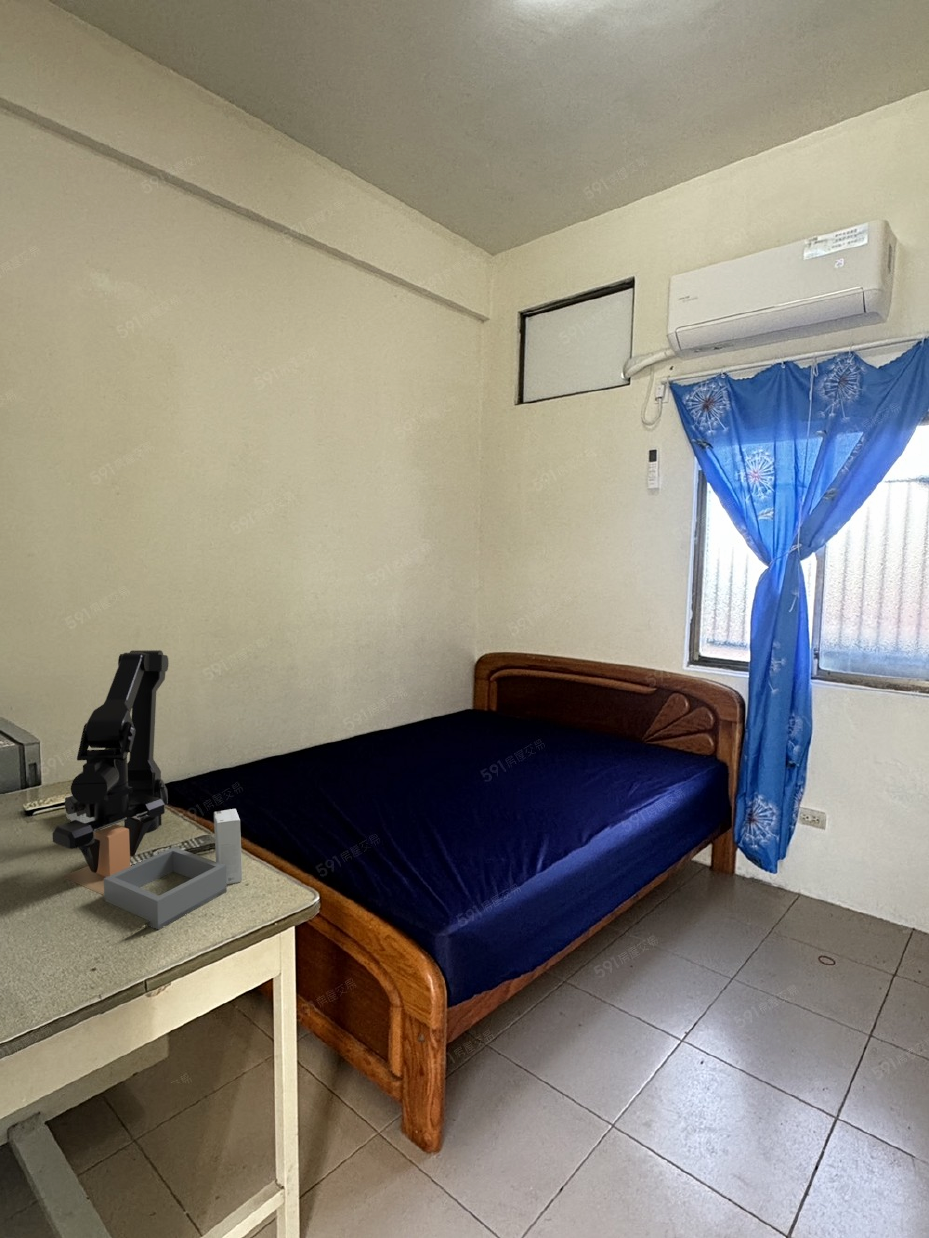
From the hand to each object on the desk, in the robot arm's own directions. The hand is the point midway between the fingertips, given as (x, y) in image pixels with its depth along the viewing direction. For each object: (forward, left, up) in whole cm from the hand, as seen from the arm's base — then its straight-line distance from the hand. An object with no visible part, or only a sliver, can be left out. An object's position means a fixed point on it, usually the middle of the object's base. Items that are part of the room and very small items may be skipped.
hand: (113, 863), depth 124 cm
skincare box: (-11, +18, -3) cm, 21 cm away
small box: (-14, -29, -3) cm, 32 cm away
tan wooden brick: (0, 0, -2) cm, 2 cm away
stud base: (0, 0, -2) cm, 2 cm away
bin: (0, +15, -2) cm, 15 cm away
